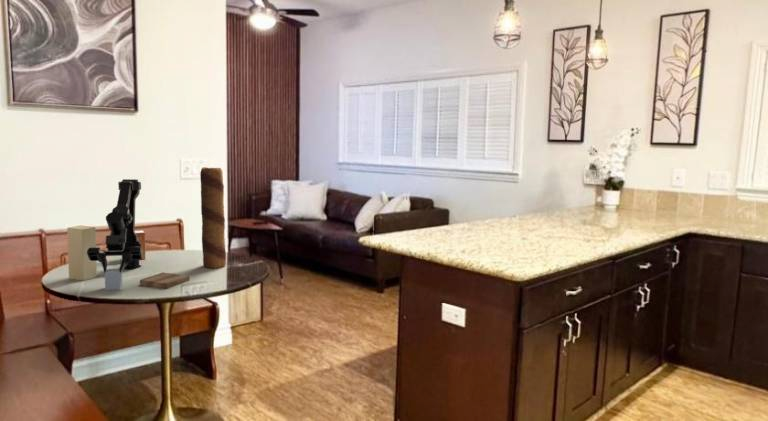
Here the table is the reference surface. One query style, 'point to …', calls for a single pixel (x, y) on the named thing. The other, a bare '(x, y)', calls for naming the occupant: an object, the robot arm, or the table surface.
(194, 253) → the table surface
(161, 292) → the table surface
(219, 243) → the wafer roll
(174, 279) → the walnut block
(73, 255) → the tall beige block
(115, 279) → the blue-grey block
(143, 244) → the small box
